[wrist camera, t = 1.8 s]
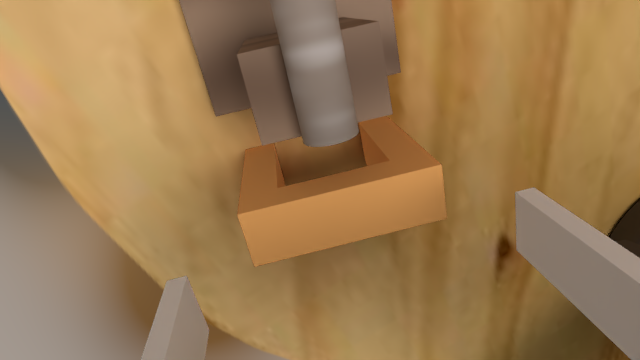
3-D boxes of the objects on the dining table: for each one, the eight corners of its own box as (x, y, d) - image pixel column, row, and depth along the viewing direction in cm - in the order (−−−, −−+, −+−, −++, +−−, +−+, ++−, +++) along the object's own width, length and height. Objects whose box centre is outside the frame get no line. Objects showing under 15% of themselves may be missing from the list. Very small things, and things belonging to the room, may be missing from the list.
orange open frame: (392, 155, 31) (447, 218, 21) (257, 188, 30) (254, 266, 21) (386, 115, 29) (441, 164, 20) (245, 149, 29) (237, 214, 20)
